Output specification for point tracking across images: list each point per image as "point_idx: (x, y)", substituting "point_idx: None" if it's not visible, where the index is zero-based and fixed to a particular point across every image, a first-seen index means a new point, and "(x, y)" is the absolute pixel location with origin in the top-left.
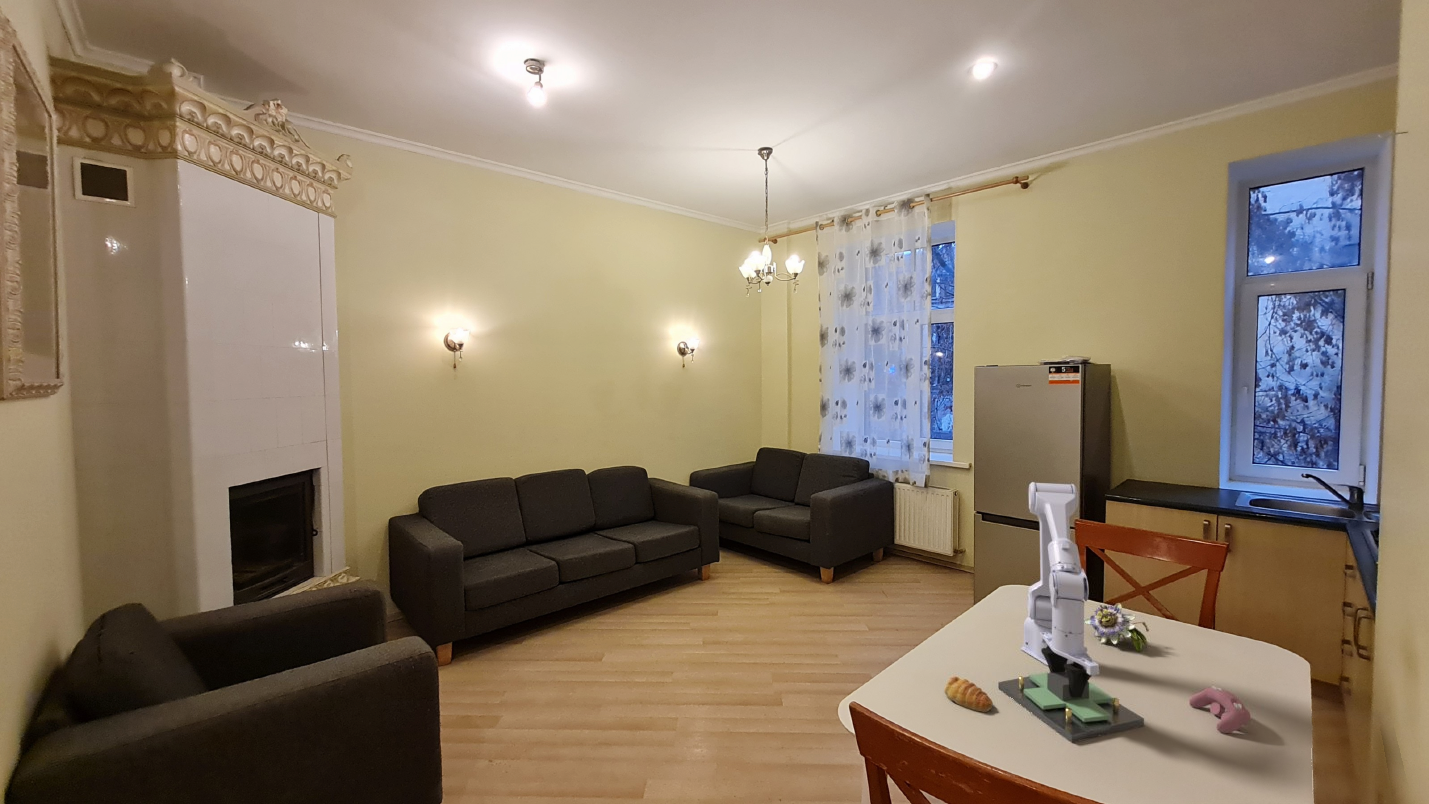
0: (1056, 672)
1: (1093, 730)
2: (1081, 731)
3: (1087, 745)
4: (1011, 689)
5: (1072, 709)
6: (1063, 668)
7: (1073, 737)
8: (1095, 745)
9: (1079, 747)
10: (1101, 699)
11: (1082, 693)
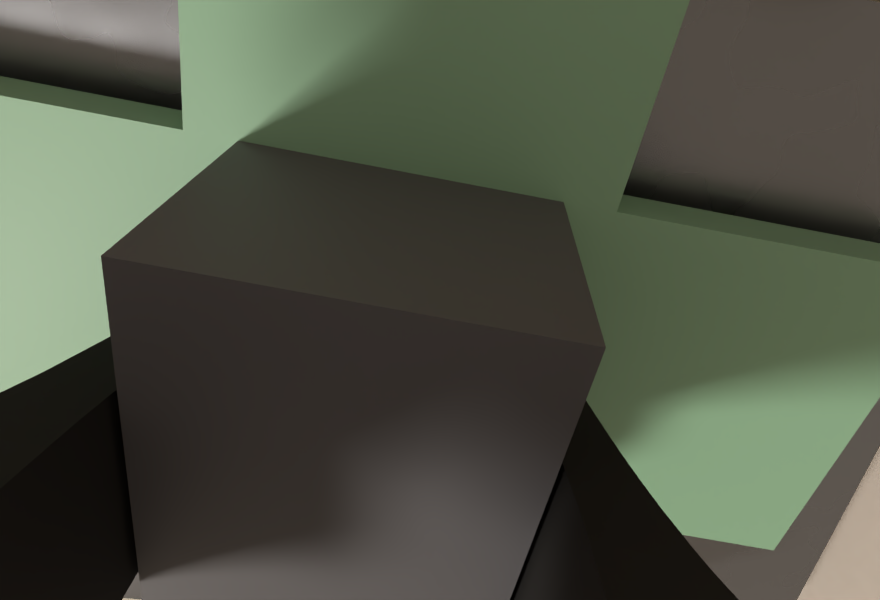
0: (138, 546)
1: (847, 503)
2: (791, 582)
3: (830, 545)
4: (135, 583)
5: None
6: (70, 473)
7: None
8: (870, 507)
9: (805, 594)
10: (673, 37)
11: (586, 406)
